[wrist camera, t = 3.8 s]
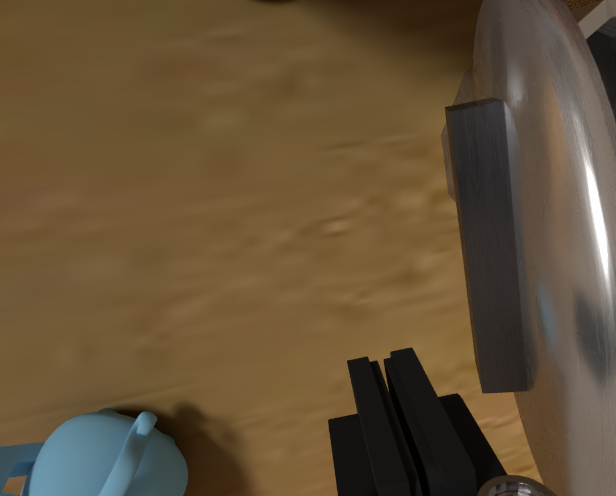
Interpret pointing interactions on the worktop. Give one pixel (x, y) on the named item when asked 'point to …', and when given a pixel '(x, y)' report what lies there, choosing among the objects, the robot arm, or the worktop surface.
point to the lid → (542, 235)
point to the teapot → (99, 459)
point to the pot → (602, 43)
